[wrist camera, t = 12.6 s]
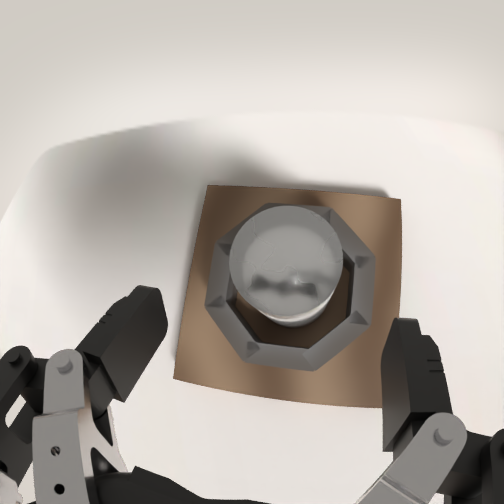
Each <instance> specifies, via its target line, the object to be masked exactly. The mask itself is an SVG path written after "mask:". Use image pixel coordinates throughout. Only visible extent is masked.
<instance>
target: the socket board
mask: <svg viewBox="0 0 504 504" xmlns="http://www.w3.org/2000/svg"><path fill="white" fill-rule="evenodd" d="M278 206H297V207H302V208H305V209H308V210H311V211H313V212H315V213H316V214H318V215H319V216H321V217H322V218H323V219H325V220H326V221H327V222H328V223H329V224H330V225H331V227H332V228H333V229H334V231H335V232H336V234H337V236H338V238H339V240H340V244H341V247H342V252H343V268H342V273H341V276H340V279H339V282H338V284H337V286H336V288H335V290H334V292H333V294H332V296H331V298H330V300H329V302H328V304H327V306H326V308H325V310H324V311H323V313H322V314H321V315H320V316H319V317H318V318H317V319H316V320H315V321H314V322H312V323H310V324H308V325H306V326H303V327H298V328H289V327H284V326H281V325H279V324H277V323H275V322H273V321H272V320H271V319H269V318H268V317H267V316H265V315H264V314H263V313H261V312H260V311H258V310H257V309H256V308H254V307H253V306H252V305H250V304H249V303H248V302H247V301H246V300H245V299H244V298H243V297H242V296H241V295H240V293H239V292H238V290H237V289H236V287H235V285H234V283H233V280H232V277H231V273H230V267H229V257H230V250H231V247H232V244H233V241H234V239H235V237H236V235H237V233H238V232H239V230H240V229H241V228H242V226H243V225H244V224H245V223H246V222H247V221H248V220H249V219H251V218H252V217H253V216H255V215H256V214H258V213H260V212H262V211H264V210H266V209H269V208H273V207H278ZM401 269H402V217H401V199H396V198H387V197H378V196H369V195H359V194H349V193H338V192H326V191H313V190H300V189H284V188H267V187H246V186H218V185H208V187H207V191H206V196H205V201H204V205H203V210H202V215H201V219H200V224H199V229H198V234H197V239H196V244H195V249H194V254H193V260H192V265H191V270H190V276H189V281H188V287H187V292H186V298H185V304H184V310H183V316H182V322H181V328H180V335H179V341H178V348H177V355H176V361H175V369H174V376H173V379H176V380H180V381H184V382H188V383H193V384H197V385H201V386H206V387H211V388H215V389H220V390H225V391H230V392H236V393H241V394H247V395H253V396H259V397H265V398H272V399H279V400H286V401H294V402H302V403H311V404H321V405H333V406H346V407H364V408H382V385H381V356H382V352H383V348H384V346H385V343H386V340H387V337H388V334H389V331H390V328H391V325H392V322H393V320H394V318H399V309H400V293H401Z"/></svg>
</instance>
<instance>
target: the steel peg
mask: <svg viewBox="0 0 504 504" xmlns="http://www.w3.org/2000/svg"><path fill="white" fill-rule="evenodd" d="M229 267H230V273H231V277H232V280H233V283H234V285H235V287H236V289H237V290H238V292H239V293H240V295H241V296H242V297H243V298H244V299H245V300H246V301H247V302H248V303H249V304H250V305H252V306H253V307H254V308H256V309H257V310H258V311H260V312H261V313H263V314H264V315H265V316H267V317H268V318H269V319H271V320H272V321H273V322H275V323H277V324H279V325H281V326H284V327H289V328H298V327H303V326H306V325H308V324H310V323H312V322H314V321H315V320H316V319H317V318H318V317H319V316H320V315H321V314H322V313H323V311H324V310H325V308H326V306H327V304H328V302H329V300H330V298H331V296H332V294H333V292H334V290H335V288H336V286H337V284H338V282H339V279H340V276H341V273H342V268H343V252H342V247H341V244H340V240H339V238H338V236H337V234H336V232H335V231H334V229H333V228H332V227H331V225H330V224H329V223H328V222H327V221H326V220H325V219H323V218H322V217H321V216H319V215H318V214H316V213H315V212H313V211H311V210H308V209H305V208H302V207H297V206H278V207H273V208H269V209H266V210H264V211H262V212H260V213H258V214H256V215H255V216H253V217H252V218H251V219H249V220H248V221H247V222H246V223H245V224H244V225H243V226H242V228H241V229H240V230H239V232H238V233H237V235H236V237H235V239H234V241H233V244H232V247H231V250H230V257H229Z"/></svg>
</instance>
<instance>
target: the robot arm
mask: <svg viewBox="0 0 504 504" xmlns="http://www.w3.org/2000/svg"><path fill="white" fill-rule="evenodd" d="M167 328H168V321H167V316H166V312H165V308H164V304H163V300H162V295H161V292H160V290H159V289H158V288H153V287H147V286H142V285H139V286H137V287H136V288H135V289H134V290H133V291H132V292H131V293H130V295H129V296H128V297H126V296H125V297H124V298H122V299H120V300H119V301H117V302H116V303H114V304H113V305H112V306H111V307H110V308H109V310H108V311H107V312H106V314H105V315H103V317H102V318H101V319H100V320H99V323H98V322H97V324H96V325H95V326H94V327H93V328H92V329H91V331H90V332H89V333H88V334H87V335H86V337H85V338H84V339H83V340H82V341H81V343H80V344H79V345H78V346H77V347H76V349H75V350H72V349H65V350H61V351H59V352H57V353H55V354H54V355H53V356H52V357H51V358H50V359H43V358H34V357H33V355H32V353H31V352H30V350H29V349H28V348H27V347H25V346H16V347H13V348H11V349H10V350H8V351H7V352H6V353H5V354H4V356H3V357H2V358H1V359H0V504H22V502H23V497H22V495H21V494H20V493H18V487H19V485H20V483H21V481H22V479H23V477H24V475H25V474H26V472H27V470H28V468H29V466H30V464H31V463H32V461H33V473H34V487H35V496H36V501H34V502H31V503H29V504H269V503H263V502H258V501H252V500H218V499H204V498H201V497H199V496H197V495H196V494H194V493H192V492H190V491H189V490H187V489H185V488H184V487H182V486H180V485H179V484H177V483H175V482H174V481H172V480H171V479H169V478H166V477H163V476H161V475H158V474H155V473H152V472H150V471H147V470H145V469H142V468H140V467H137V466H135V467H134V469H133V471H132V473H131V472H128V470H127V467H126V465H125V463H124V461H123V459H122V457H121V455H120V452H119V449H118V444H117V439H116V434H115V428H114V422H113V416H112V410H111V406H110V402H111V401H112V399H116V400H119V401H121V402H125V401H126V399H127V397H128V396H129V394H130V392H131V391H132V389H133V387H134V386H135V384H136V383H137V381H138V379H139V378H140V376H141V374H142V373H143V371H144V370H145V368H146V366H147V365H148V363H149V361H150V360H151V358H152V357H153V355H154V353H155V352H156V350H157V349H158V347H159V345H160V344H161V342H162V341H163V339H164V337H165V335H166V333H167ZM443 371H444V369H443V365H442V362H441V356H440V353H439V349H438V346H437V345H436V343H435V342H434V341H433V339H432V338H431V337H430V335H421V331H420V327H419V323H418V320H417V319H411V318H394V320H393V322H392V325H391V328H390V331H389V334H388V337H387V340H386V343H385V346H384V348H383V352H382V356H381V385H382V411H383V452H393V462H392V463H391V464H390V465H389V466H388V468H387V469H386V470H385V471H384V472H383V473H382V475H381V476H380V477H379V478H378V479H377V480H376V481H375V482H374V483H373V484H372V486H371V487H370V488H369V489H368V490H367V491H366V492H365V493H364V494H363V495H362V496H361V497H360V498H359V499H358V500H357V501H356V502H355V503H354V504H428V503H429V502H430V500H431V498H432V497H433V496H434V494H435V493H439V494H444V504H504V429H501V430H499V431H498V432H497V433H496V434H495V435H494V436H493V437H489V436H485V435H481V434H476V433H472V432H469V431H467V430H466V428H465V425H464V424H463V422H462V421H461V420H460V419H459V418H458V417H456V416H455V415H453V412H452V407H451V402H450V397H449V392H448V387H447V382H446V378H445V373H443ZM20 394H21V396H22V397H23V398H24V399H25V401H26V403H25V404H24V406H23V408H22V409H21V410H20V412H19V414H18V415H17V417H16V418H15V420H14V421H13V423H12V424H11V426H10V427H9V428H8V427H7V425H6V422H5V417H6V414H7V412H8V411H9V409H10V408H11V406H12V405H13V404H14V402H15V401H16V399H17V398H18V396H19V395H20Z"/></svg>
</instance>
